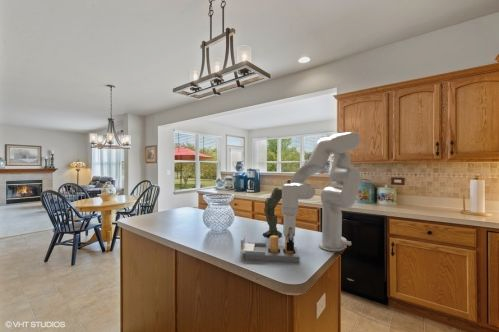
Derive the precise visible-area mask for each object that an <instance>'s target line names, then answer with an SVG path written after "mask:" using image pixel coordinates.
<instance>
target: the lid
mask: <svg viewBox="0 0 499 332" xmlns="http://www.w3.org/2000/svg"><path fill="white" fill-rule="evenodd" d="M254 247H255V244H250V243H248V242H247V243H246V236H243V235H242V236H241V239H240V251H239V252H240V254H241V253H243V254H245V251H254Z"/></svg>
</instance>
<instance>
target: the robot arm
mask: <svg viewBox="0 0 499 332" xmlns="http://www.w3.org/2000/svg"><path fill="white" fill-rule="evenodd" d="M360 144H361V137H360V134H358V132H355V131H350V132H349V131H348V132H342V133H341V132H340V133H335V134H332V135H331V136H329V137H321V138H320V139H318V140H317V141H316V144H315V146H314V147H313V149H312V152H311V153H310V156H309V158H308V159H307V161H306V162H305V163H304V164H303V165H302V166H301V167H300V168H299V169H297V171H296V172H295V173H294V174H293V176H292V178H291V180H290V181H289V183H283V184H282V186H281V189H282V199H281V214H282V215H283V220H282V221H283V225H282V226H283V228H282V229H283V230H282V232H283V233H282V234H283V236H284V238H285V237H286V236H287V251H294V247H295V240H294V239H295V238H294V237H295V236H296V216H297V215H299V200H310V199H312V198H313V197H314V196H315V195H316V189H315V187H314V186H313V185H312V184H309V183H304V182H305V181H306V180H307V179H308V178H310V177H311V176H313V175H315V174H318V173H320V172H323V170H324V169H325V167H326V164H327V162H328V161H329V157H330V156H331V155H333V161H332V164H331V169H330V171H329V175H328V181H329V182H330V184H332V185H335V186H326V187H323V188H322V190H321V193H320V200H321V208H322V222H321V223H322V225H321V230H322V232H321V241H320V242H318V247H320V249H323V250H324V251H328V252H342V251H344V250H345V246H352V241H349V240H348V239H347V240H346V239H344V240H343V238H342V227H343V225H342V224H343V220H342V219H343V213H342V210H341V208H344V209H350V208H351V207H353V206H354V204H355V202H356V200H357V197H358V192H359V188H360V184H361V174H360V173H361V172H360V171H359V170H358V169H357V168H355V167H351V156H350V154H349V152H350V151H353V150H355V149H357V148H358V147H359V146H360ZM338 186H340V187H338ZM341 186H342V187H341Z"/></svg>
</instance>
